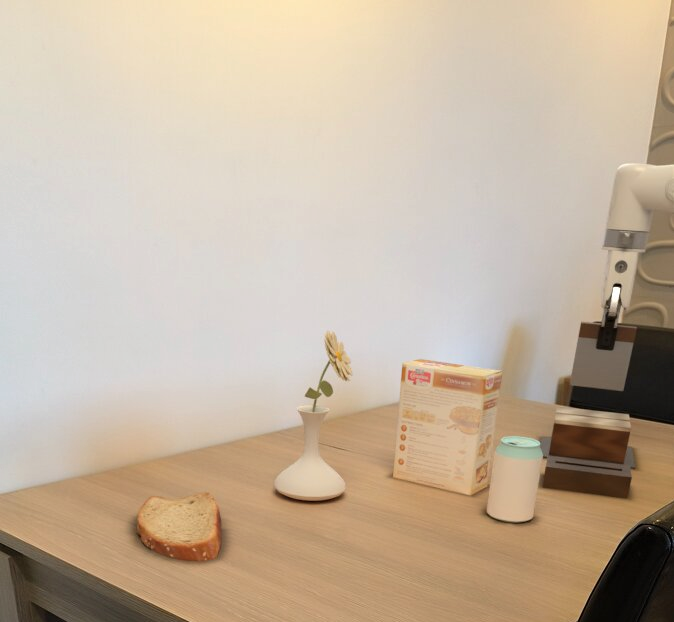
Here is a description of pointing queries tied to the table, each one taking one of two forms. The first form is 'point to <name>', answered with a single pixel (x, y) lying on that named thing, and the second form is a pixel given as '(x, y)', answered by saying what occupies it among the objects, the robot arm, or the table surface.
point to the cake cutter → (602, 358)
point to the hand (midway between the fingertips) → (604, 347)
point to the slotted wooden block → (587, 477)
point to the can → (515, 479)
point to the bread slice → (181, 527)
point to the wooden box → (590, 436)
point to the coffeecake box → (446, 425)
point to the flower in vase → (316, 439)
